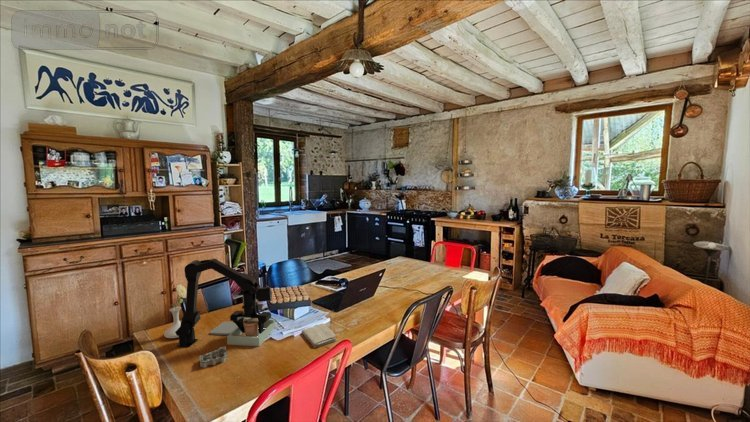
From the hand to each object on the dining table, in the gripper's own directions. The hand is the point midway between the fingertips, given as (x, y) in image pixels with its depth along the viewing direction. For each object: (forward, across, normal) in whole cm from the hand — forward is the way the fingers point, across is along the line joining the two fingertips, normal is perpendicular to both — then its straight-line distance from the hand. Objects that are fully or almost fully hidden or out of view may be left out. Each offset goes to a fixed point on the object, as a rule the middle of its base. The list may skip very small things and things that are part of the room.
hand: (251, 332), depth 155 cm
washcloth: (+3, -33, -3) cm, 33 cm away
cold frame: (+2, 0, 0) cm, 2 cm away
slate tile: (+2, +17, -6) cm, 18 cm away
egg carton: (+2, +6, +21) cm, 22 cm away
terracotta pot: (+2, 0, 0) cm, 2 cm away
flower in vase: (+2, +39, +1) cm, 39 cm away
